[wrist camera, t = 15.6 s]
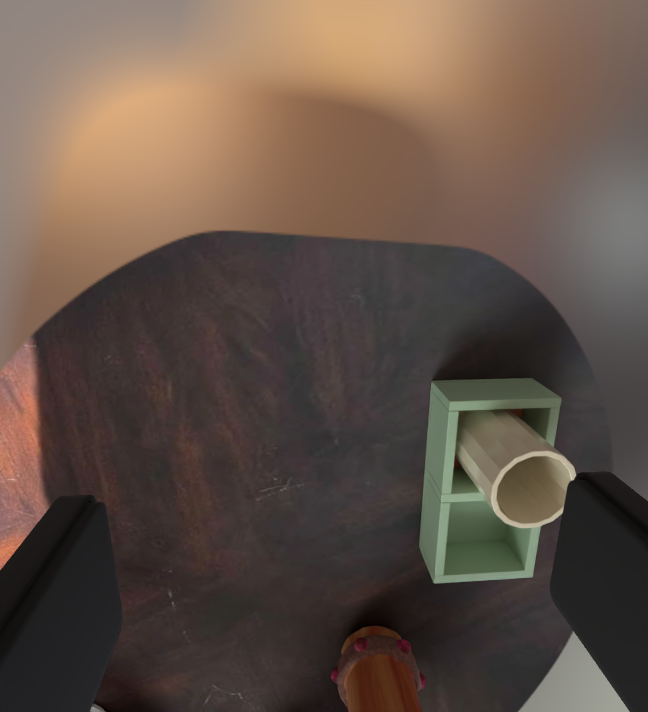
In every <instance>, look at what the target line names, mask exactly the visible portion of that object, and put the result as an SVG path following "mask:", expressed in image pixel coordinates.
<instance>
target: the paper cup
mask: <svg viewBox="0 0 648 712" xmlns="http://www.w3.org/2000/svg"><path fill="white" fill-rule="evenodd" d="M455 457H456V459H457V460H458V462H459V463H460V464H461V466H462V467H463V469H464V470H465V471H466V473H467V474H468V476H469V477H470V478H471V480H472V481H473V483H474V484H475V486H476V487H477V488H478V490H479V491H480V493H481V494H482V495H483V497H484V498H485V500H486V501H487V502H488V504H489V505H490V507H491V508H492V510H493V511H494V512H495V514H496V515H497V516H498V517H499V518H500V519H501V520H503V521H504V522H505V523H506V524H509V525H512V526H515V527H518V528H535V527H539V526H542V525H544V524H547V523H549V522H552V521H553V520H555V519H556V518H557V517H558V516H560V515H561V514H562V513H563V508H564V503H565V497H566V491H567V486H568V484H569V482H570V481H572V480H574V478H575V477H576V473H575V469H574V467H573V465H572V464H571V463H570V462H569V461H568V460H567V459H566V458H565V457H564V456H563V455H562V454H561V453H560V452H559V451H557V450H556V449H555V448H554V447H553V446H552V445H550V444H549V443H548V442H547V441H546V440H545V439H544V438H542V437H541V436H540V435H539V434H538V433H537V432H535V431H534V430H533V429H532V428H531V427H530V426H529V425H527V424H526V423H525V422H524V421H523V420H522V419H520V418H519V417H518V416H517V415H516V414H515V413H513V412H512V411H511V410H510V409H493V410H463V411H459V416H458V426H457V437H456V447H455Z"/></svg>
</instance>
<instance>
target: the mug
mask: <svg viewBox="0 0 648 712" xmlns="http://www.w3.org/2000/svg"><path fill="white" fill-rule="evenodd" d="M341 654H342V656H341V658H340V660H339V662H338V664H337V666H336V667H335V668H334V669H333V671H332V674H331V679H332V680H333V681H334V682H335V683H337V684H338V692H339V695H340V698H341V699H342V701H343V702H344V704H345V705H346V707H347V710H348V712H423V711H422V708H421V706H420V702H419V699H418V693H419V691H420V689H423V688H424V687H425V684H426V678H425V676H424V675H423V674H422V673H421V672H419V670H418V667H417V664H416V661H415V658H414V655H413V654H412V652H411V645H410V643H409V642H408V641H407V640H405V639H402V638H401V637H400V636H399V634H398V633H397V632H395V631H393V630H391V629H388V628H386V627H382V626H369V627H364V628H361V629H360V630H359V631H356V632H354V633H353V634H351V635H350V636H349V637H348V638H347V639H346V641H345V642H344V645H343V648H342V650H341Z"/></svg>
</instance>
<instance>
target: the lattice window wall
mask: <svg viewBox="0 0 648 712" xmlns="http://www.w3.org/2000/svg"><path fill="white" fill-rule="evenodd" d="M90 712H105V711H104V710H103V709H102V708H101V707H100V706H98V705H96V704H93V705H92V707H91V710H90Z"/></svg>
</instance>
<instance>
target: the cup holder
mask: <svg viewBox="0 0 648 712" xmlns="http://www.w3.org/2000/svg"><path fill="white" fill-rule="evenodd" d="M561 399H562V398H561V397H559V396H558V395H556V394H555V393H553V392H552V391H550V390H549V389H547V388H546V387H544V386H543V385H541V384H540V383H538V382H537V381H535V380H534V379H532V378H510V379H474V380H438V381H431V394H430V407H429V420H428V434H427V447H426V461H425V474H424V488H423V501H422V514H421V528H420V541H419V548H420V550H421V553H422V556H423V558H424V560H425V563H426V565H427V568H428V570H429V573H430V575H431V578H432V580H433V582H434V583H450V582H465V581H481V580H496V579H512V578H527V577H533V571H534V565H535V558H536V552H537V546H538V540H539V534H540V528H541V526H539V527H535V528H518V527H515V526H512V525H509V524H506V523H505V522H504V521H503V520H501V519H500V518H499V517H498V516H497V515H496V514H495V512H494V511H493V510H492V508H491V507H490V505H489V504H488V502H487V501H486V500H485V498H484V497H483V495H482V494H481V493H480V491H479V490H478V488H477V487H476V486H475V484H474V483H473V481H472V480H471V478H470V477H469V476H468V474H467V473H466V471H465V470H464V469H463V467H462V466H461V464H460V463H459V462H458V460H457V459H456V457H455V447H456V437H457V426H458V416H459V411H463V410H493V409H510V410H511V411H512V412H513V413H515V414H516V415H517V416H518V417H519V418H520V419H522V420H523V421H524V422H525V423H526V424H527V425H529V426H530V427H531V428H532V429H533V430H534V431H535V432H537V433H538V434H539V435H540V436H541V437H542V438H544V439H545V440H546V441H547V442H548V443H549V444H550V445H552V446H553V447H554V441H555V435H556V429H557V423H558V417H559V411H560V405H561Z"/></svg>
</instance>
